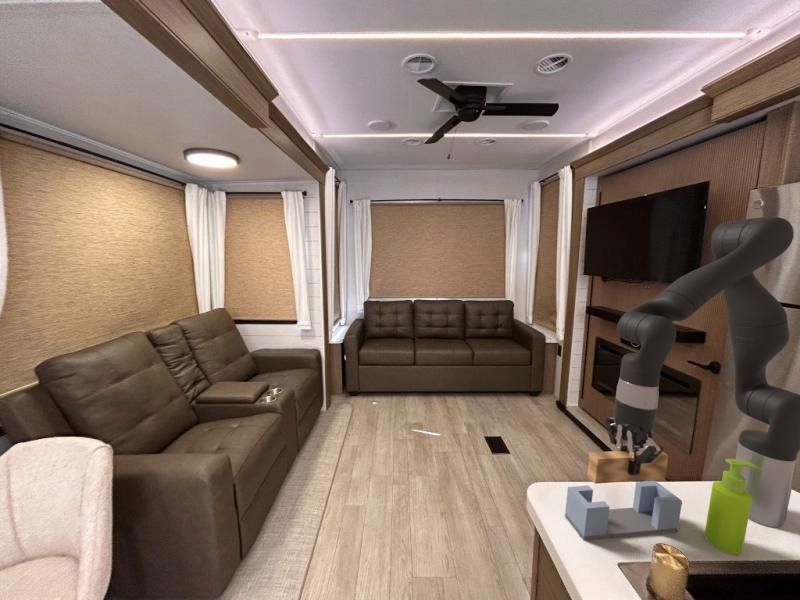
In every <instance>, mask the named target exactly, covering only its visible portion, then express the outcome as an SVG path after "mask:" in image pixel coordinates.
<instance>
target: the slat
mask: <svg viewBox="0 0 800 600" xmlns="http://www.w3.org/2000/svg"><path fill="white" fill-rule="evenodd" d="M629 453H630V450H627V451H617V450H613V451H612V450H611V451H595V452H594V451H593V452H590V451H589V455H588V456H589V457H588V458H589V459H588V466H587V476H586V477H588V478H589V480H591V481H592V482H593V483H594V484H595V485H596V484H609V483H610V484H611V483H627V482H645V481H656V480H657V481H658V480H666V475H667V467H668V460H669V454H667V453H665V452H664V451H663V452H662V453H661V454H660V455H659V456H657V457H656V458H655V459H654V460H653V461H652V462H651V463H645V464H641V468H640V473H639V474H638V475H634V476H631V475H629V474H628V466H629V459H630V458H629ZM636 455H637V452H636Z"/></svg>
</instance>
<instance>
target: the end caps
mask: <svg viewBox="0 0 800 600" xmlns="http://www.w3.org/2000/svg"><path fill="white" fill-rule="evenodd" d="M593 496H594V490H593V488H591V486H590V485H576V486H568V487H567V493H566V502H565V512H564V518H565V519H566V521H568V522H569V524H570V525H571V526H572V527H573V529H574V530H575V531H576V533H577V535H579V537H580V538H581V539H582V540H583V541H592V540H603V539H612V538H622V537H623V538H624V537H634V536H637V537H638V536H646V535H647V536H648V535H657V534H667V533H677V532H678V531H679V525H680V519H681V517H680V516H681V512H682V511H681V510H682V504H683V500H682V499H681V498H679V497H678V496H677V495H675V494H674V493H673V492H671V491H670V490H668V489H667V488H666V487H664V486H663V485H662V484H661V483H659V482H658V481H656V480H647V481H635V489H634V497H633V504H632V507H621V508H611V509H610V505H609V504H608V503H607V502H606V501H605V500H604V501H594V502H593Z"/></svg>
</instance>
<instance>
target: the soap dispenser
mask: <svg viewBox="0 0 800 600" xmlns="http://www.w3.org/2000/svg"><path fill="white" fill-rule="evenodd" d="M725 463H727V464H729V469H728V470H723V472H722V477H721V480H715V481H713V483H712V486H711V493H710V500H709V506H708V511H707V515H706V516H707V517H706V524H705V529H704V537H705V539H706V541H708V542H709V543H710V545H712V546H713V547H715V548H717V549H718V550H720V551H721V552H724V553H727V554H729V555H733V556H741V555H742V554H743V550H744V549H743V548H744V544H745V539H746V538H745V537H746V533H747V528H748V522H749V519H748V518H749V512H750V507H751V501H752V497H751V495H750V494H749V493H748V492H746V491H745V490H744V488H745V482H746V479H745V478H744V477H743V476H741V470H742V467H746V468H753V469H757V470H762V468H760V467H759V466H757V465H756V464H754V463H752V462H749V461H745V460H739V459H736V458H725Z"/></svg>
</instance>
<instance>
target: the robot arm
mask: <svg viewBox="0 0 800 600" xmlns="http://www.w3.org/2000/svg"><path fill="white" fill-rule="evenodd" d="M794 235H795V233H794V228H793V225H792V224H791V223H790V221H789V220H787V219H786V218H784V217H780V216H762V217H754V218H753V217H752V218H746V219H736V220H735V219H734V220H728V221H724V222H721V223H720V224H718V225H717V226H716V227H715V229H714V230H713V231H712V234H711V241H710V242H711V243H710V244H711V246H710V247H711V252H712V257H713V259H714V260H713V262H710V263H708V264H706V265H704V266H701V267H699V268H696V269H694V270H692V271H690V272H688V273H686V274H684V275H682V276H680V277H679V278H677V279H676V280H675V281H673V282H672V283H671V284H670V285H669V286H667V287H666V288H665V289H664V290H662V291H661V292H660V293H659V294H657V295H656V296H655V297H653V298H651V299H648V300H647V301H644V302H643V303H640V304H639V305H637V306H635V307H633V308H631V309H629V310H628V311H626V312H625V313H624V314H623V315H622V316H621V317H620V318H619V320H618V323H617V326H616V331H617V334H618V335H619V337H620V338H622V340H625V341H627V342H630V343H634V344H637V345H640V349H639V351H638V353H635V352H633V353H632V352H630V353H626V354H624V355H623V356H622V358H621V363H620V370H619V371H620V372H619V378H618V383H617V385H616V392H615V393H616V394H615V401H614V409H613V414H614V417H605V419H604V421H605V424H606V429H607V433H608V437H609V441H610V443H611V444H612V445H615V449H616V451H628V450H630V453H629V458H630V459H629V466H628V474H629V475H631V476H634V475H638V474H639V473H640V468H641V464H645V463H651V462H652V461H653V460H654V459H655V458H656V457H657V456H659V455H660V454H661V453H662V452H664V446H662V445H661V444H660V445H657V443H656V442H655V441H654V439H653V431H652V428H653V427H654V426H655V424H656V420H657V419H656V418H657V412H658V411H657V410H658V405H659V404H658V403H659V388H660V387H659V385H660V377H661V369H662V367H663V365H664V363H665V362H666V360H667V357H668V355H669V353H670V352H671V350H672V348H673V347H674V344H675V342H676V339H677V328H676V326H675V324H674V322H682V321H684V320H687V319H688V318H690V317H691V316H692V315H694V313H695V312H697V311H698V310H699V309H700V308H701V307H703V306H704V305H705V304H706V303H708V302H709V301H710V300H711V299H712V298H713V297H715V296H716V295H718V294H719V293H721V292H723V295H724V296H723V297H724V301H725V307H726V317H727V325H728V331H729V336H730V341H731V346H732V354H733V355H732V357H733V362H734V363H733V364H734V398H735V404H736V406H737V408H738V410H739V412H740V413H742V414H743V415H745V416H748V417H749V418H752V419H754V420H757V421H760V422H762V423H764V424H766V425H769V428H768V429H767V431H762V430H757V429H756V430H755V429H746V430H742V431H740V433H739V437H738V442H737V448H736V455H735V459H739V460H745V461H749V462H752V463H754V464H756V465H757V466H759V467H760V468H762V470H757V469H753V468H746V467H742V470H741V476H743V477H744V478H745V479H746V482H745V488H744V490H745V491H746V492H748V493H749V494H750V495H751V497H752V501H751V507H750V512H749V518H748V520H750V521H752V522H755V523H757V524H761V525H763V526H767V527H771V528H781V527H783V525H784V522H785V521H786V519H787V514H788V509H789V506H790V505H789V504H790V499H791V494H792V489H793V487H792V482H793V477H794V476H793V475H794V471H795V467H796V461H797V456H798V454H799V452H800V394H799V393H797V392H793V391H790V390H787V389H784V388H780V387H777V386H774V385H770V384H769V382H768V381H767V377H766V369H767V366H768V364H769V363H770V362H771V361H773V359H774V358H776V356H777V355H778V354H780V352H782V351H783V349H784V348H786V346H787V344H788V342H789V340H790V329H789V328H790V327H789V321H788V316H787V315H788V314H787V312H786V309H785V308H784V306H783V305H782V304H781V303H780V301H779V300H778V299H777V298H776V297H775V296H774V295H773V294H772V293H771V292H770V291H769V290H768V289H767V288H766V287H764V286H763V284H761V283H760V280H758V278H757V277H756V275H755V273H754V272H755V271H757V270H758V269H760V268H761V267H764V266H765V265H766V264H769V263H770V262H772V261H773V260H775V259H777V258H778V257H780V256H781V255H783V254H784V253H785V252H786V251H787V250H788V249H789V248H790V246H791V244H792V243H793V240H794ZM636 452H637V455H636Z"/></svg>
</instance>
